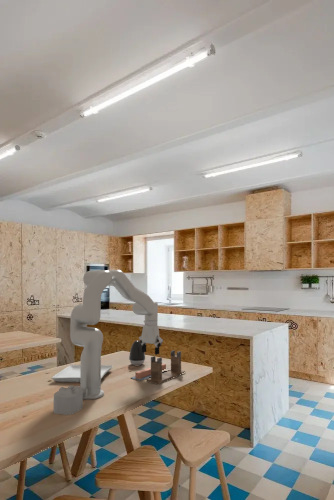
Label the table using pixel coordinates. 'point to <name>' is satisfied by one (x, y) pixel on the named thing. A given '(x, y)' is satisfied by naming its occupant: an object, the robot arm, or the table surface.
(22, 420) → the table surface
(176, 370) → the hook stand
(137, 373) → the rail
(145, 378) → the mat
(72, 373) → the square plate
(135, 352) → the pump dispenser
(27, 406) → the table surface
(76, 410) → the lumpy-topped squat cylinder
